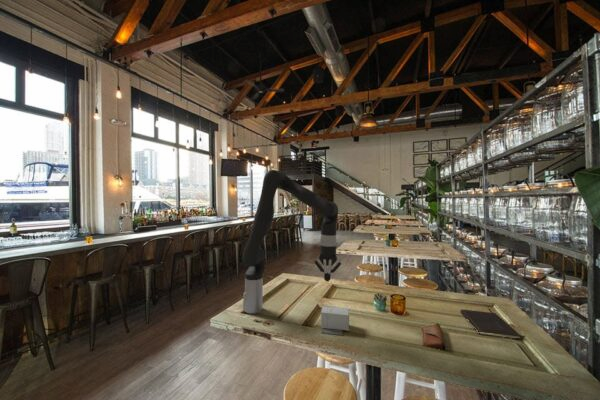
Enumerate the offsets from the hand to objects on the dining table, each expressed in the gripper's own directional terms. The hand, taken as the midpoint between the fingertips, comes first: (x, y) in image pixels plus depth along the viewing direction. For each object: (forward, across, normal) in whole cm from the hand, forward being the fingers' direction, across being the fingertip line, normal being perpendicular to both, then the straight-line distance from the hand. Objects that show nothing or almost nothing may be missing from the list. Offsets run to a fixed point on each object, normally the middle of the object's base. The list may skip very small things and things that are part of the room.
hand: (327, 280), depth 121 cm
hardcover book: (+21, +76, +19) cm, 81 cm away
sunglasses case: (+21, +46, 0) cm, 51 cm away
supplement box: (+17, -2, 0) cm, 17 cm away
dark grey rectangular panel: (+21, +3, 0) cm, 21 cm away
